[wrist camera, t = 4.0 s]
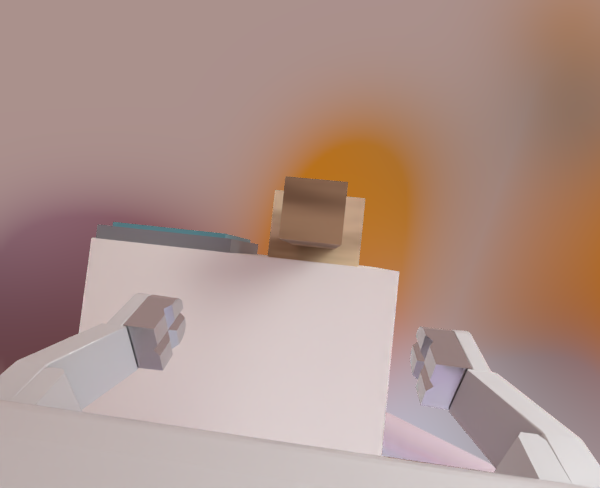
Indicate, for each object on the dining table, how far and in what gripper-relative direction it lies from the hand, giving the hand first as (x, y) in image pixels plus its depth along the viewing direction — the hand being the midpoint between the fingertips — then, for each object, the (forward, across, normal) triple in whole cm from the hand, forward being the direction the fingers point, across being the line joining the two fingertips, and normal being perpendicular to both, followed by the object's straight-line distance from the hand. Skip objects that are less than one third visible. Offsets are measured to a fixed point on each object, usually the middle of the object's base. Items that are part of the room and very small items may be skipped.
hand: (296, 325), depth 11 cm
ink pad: (+19, +13, +8) cm, 24 cm away
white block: (+6, +6, +29) cm, 31 cm away
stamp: (+14, 0, +6) cm, 15 cm away
